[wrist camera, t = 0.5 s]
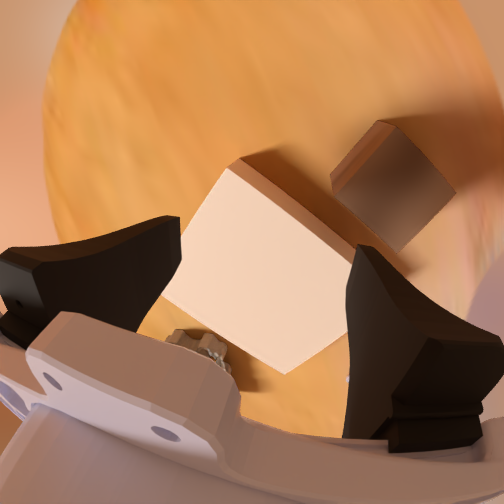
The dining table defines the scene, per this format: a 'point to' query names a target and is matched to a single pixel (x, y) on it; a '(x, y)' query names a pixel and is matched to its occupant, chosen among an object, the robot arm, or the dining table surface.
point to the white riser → (263, 271)
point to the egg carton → (202, 346)
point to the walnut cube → (390, 185)
